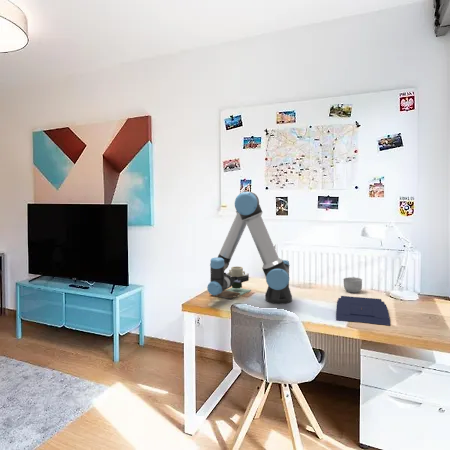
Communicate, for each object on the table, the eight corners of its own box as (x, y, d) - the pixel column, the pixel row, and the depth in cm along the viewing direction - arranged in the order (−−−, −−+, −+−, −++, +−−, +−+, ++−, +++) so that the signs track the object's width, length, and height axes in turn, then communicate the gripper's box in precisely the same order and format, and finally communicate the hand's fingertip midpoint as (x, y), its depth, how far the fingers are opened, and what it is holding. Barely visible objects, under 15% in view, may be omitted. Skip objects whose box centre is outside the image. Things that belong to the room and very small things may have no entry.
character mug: (247, 288, 226) (247, 267, 224) (242, 290, 219) (242, 269, 218) (231, 285, 231) (231, 265, 230) (226, 288, 225) (226, 267, 223)
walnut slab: (240, 296, 215) (240, 292, 215) (231, 300, 208) (231, 296, 208) (218, 292, 224) (218, 288, 224) (209, 295, 217) (209, 292, 217)
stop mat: (251, 290, 227) (251, 289, 226) (240, 295, 217) (240, 294, 217) (233, 287, 234) (233, 286, 234) (222, 292, 224) (222, 291, 224)
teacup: (359, 295, 216) (359, 281, 215) (340, 292, 222) (341, 279, 221) (364, 289, 228) (365, 277, 227) (347, 287, 234) (347, 275, 233)
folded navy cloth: (384, 304, 195) (385, 297, 194) (390, 331, 167) (391, 323, 167) (337, 300, 203) (337, 293, 202) (335, 325, 175) (335, 318, 174)
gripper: (206, 286, 213) (222, 278, 233) (243, 291, 204) (257, 282, 224) (206, 274, 213) (222, 267, 232) (243, 278, 203) (257, 270, 223)
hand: (239, 274), depth 228 cm, fingers closed on character mug, 11 cm apart
